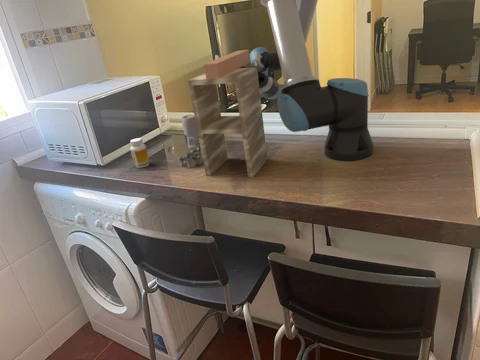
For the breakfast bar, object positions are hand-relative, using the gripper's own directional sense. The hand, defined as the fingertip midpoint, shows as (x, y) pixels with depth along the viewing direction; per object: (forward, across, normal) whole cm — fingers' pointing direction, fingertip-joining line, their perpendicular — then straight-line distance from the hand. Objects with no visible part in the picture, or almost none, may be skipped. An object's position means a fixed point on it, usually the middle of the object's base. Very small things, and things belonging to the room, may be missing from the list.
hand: (235, 57), depth 119 cm
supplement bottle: (-6, +37, -35) cm, 51 cm away
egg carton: (-10, +18, -32) cm, 38 cm away
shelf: (-7, 0, -34) cm, 35 cm away
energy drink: (-23, +26, -25) cm, 42 cm away
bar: (+4, 0, -5) cm, 7 cm away
